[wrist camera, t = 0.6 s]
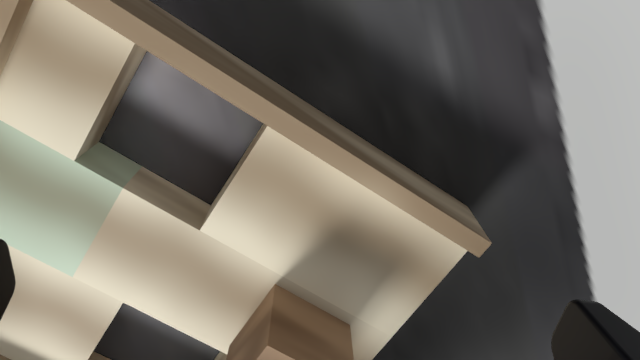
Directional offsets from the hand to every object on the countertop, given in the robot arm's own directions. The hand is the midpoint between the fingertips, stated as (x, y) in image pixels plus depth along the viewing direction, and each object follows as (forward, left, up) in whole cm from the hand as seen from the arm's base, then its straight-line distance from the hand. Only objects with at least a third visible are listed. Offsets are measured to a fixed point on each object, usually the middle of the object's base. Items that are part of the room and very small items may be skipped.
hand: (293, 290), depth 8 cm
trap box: (-9, +1, -15) cm, 17 cm away
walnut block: (-9, -5, -12) cm, 16 cm away
